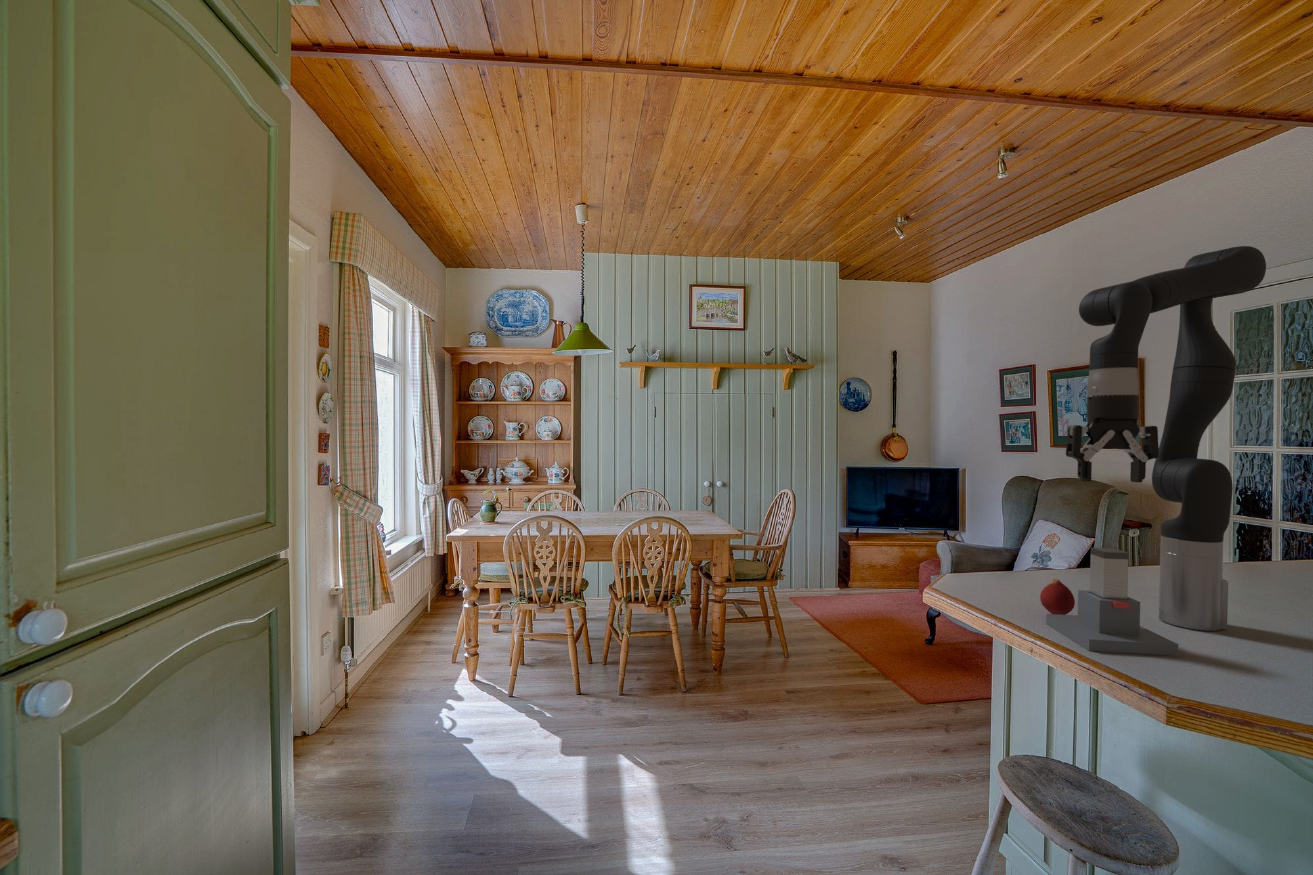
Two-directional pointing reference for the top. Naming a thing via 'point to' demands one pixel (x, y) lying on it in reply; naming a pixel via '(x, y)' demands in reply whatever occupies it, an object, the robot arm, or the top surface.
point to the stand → (1110, 627)
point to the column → (1109, 573)
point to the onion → (1057, 598)
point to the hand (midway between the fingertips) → (1110, 481)
